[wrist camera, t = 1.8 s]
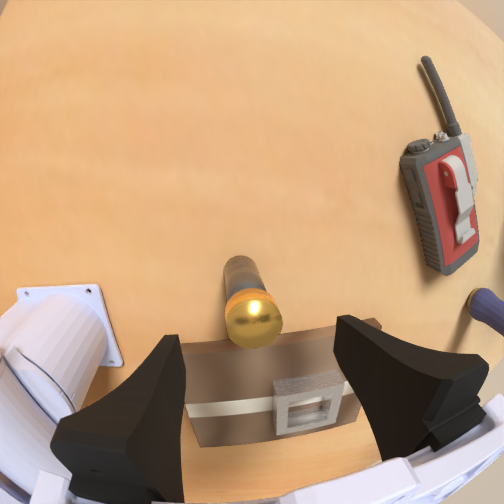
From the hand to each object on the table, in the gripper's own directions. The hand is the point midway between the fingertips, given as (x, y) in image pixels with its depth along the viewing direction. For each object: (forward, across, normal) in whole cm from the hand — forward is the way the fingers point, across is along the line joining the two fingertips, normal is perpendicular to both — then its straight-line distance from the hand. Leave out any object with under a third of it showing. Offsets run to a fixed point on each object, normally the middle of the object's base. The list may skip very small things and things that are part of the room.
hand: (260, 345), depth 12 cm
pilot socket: (+8, -5, +13) cm, 16 cm away
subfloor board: (+9, -3, +13) cm, 16 cm away
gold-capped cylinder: (+9, 0, 0) cm, 9 cm away
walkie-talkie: (+10, -18, -8) cm, 22 cm away
